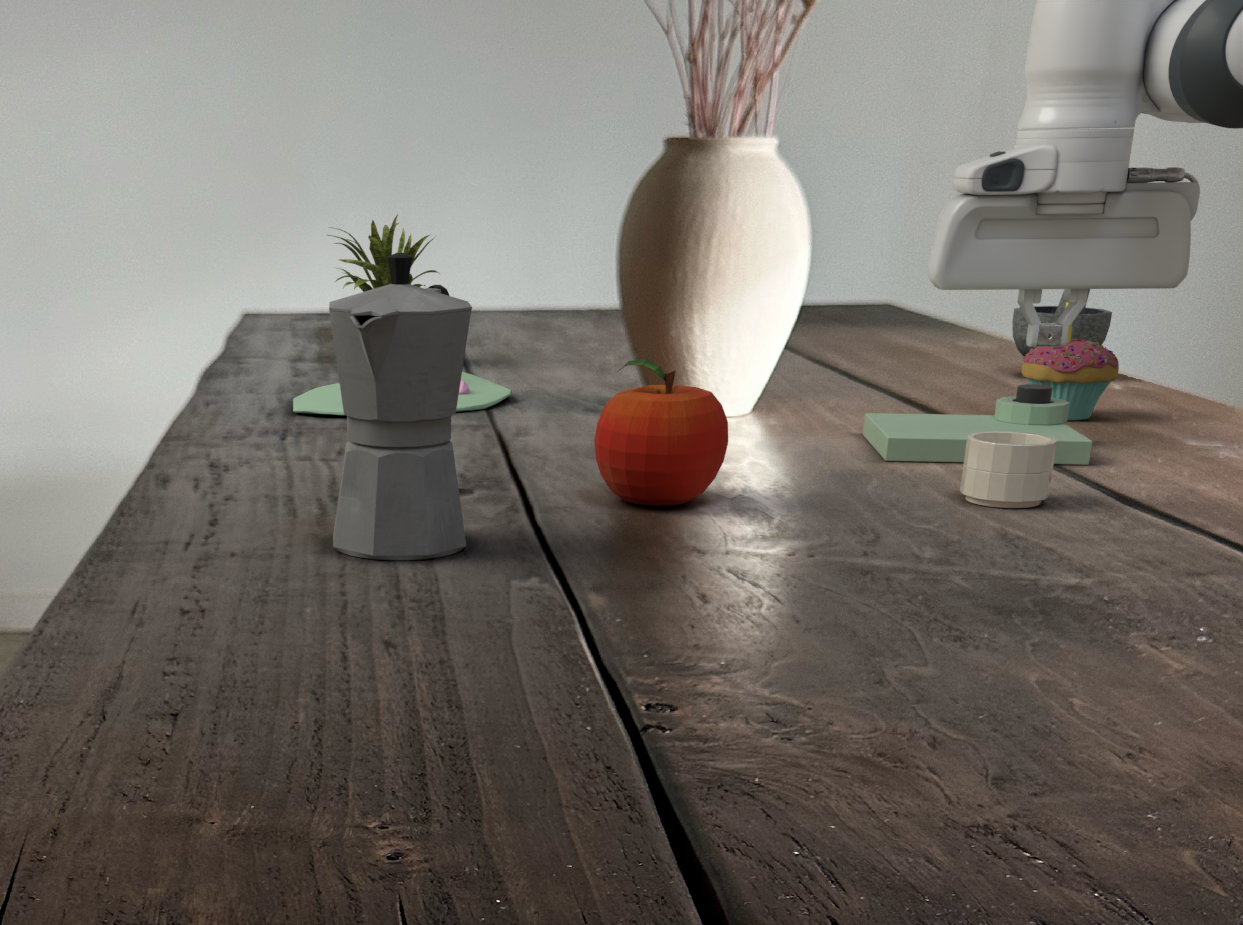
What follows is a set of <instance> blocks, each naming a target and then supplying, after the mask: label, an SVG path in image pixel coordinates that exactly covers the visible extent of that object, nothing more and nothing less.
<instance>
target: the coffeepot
mask: <svg viewBox="0 0 1243 925" xmlns="http://www.w3.org/2000/svg"><path fill="white" fill-rule="evenodd" d="M412 258H413V257H412V256H410V255H407V254H405V253H403V252H402V253H397V252H395V253H392V255H390V256H387V259H388V265H389V271H390V277H391V283H392V284H389V285H386V286H382V287H379V288H375V289H372V290H369V291H365V292H363V291H362V292H358V293H355V294H352V295H347V296H345V297H342V298H340V299H335V300H332V301H329V304H328V310H329V311H328V312H329V318H330V325H331V332H332V340H333V347H334V355H335V361H336V368H337V376H338V381H339V382H338V383H340V390H341V397H342V404H343V411H344V415H343V416H346V439H347V441H346V442H345V449H344V456H343V461H342V462H343V463H342V471H341V478H340V485H339V492H338V499H337V505H336V513H335V519H334V525H333V526H334V528H333V534H332V547H333V548H334V549H335V550H336V551H337V552H339V553H341V554H345V555H348V556H352V557H355V558H360V559H361V558H362V559H367V560H368V559H369V560H379V561H380V560H381V561H419V560H429V559H436V558H442V557H446V556H450V555H453V554H456V553H459V552H461V551H462V550H463V549H464V548H466V547H467V540H466V534H465V526H464V525H465V524H464V519H463V512H462V511H463V510H462V504H461V496H460V490H459V481H458V475H457V467H456V460H455V453H454V452H455V451H454V446H453V442H452V441H451V439H452V416H454V415H456V413H457V412H456V408H457V402H458V395H459V388H460V382H461V375H462V372H463V369H464V368H463V367H464V362H465V355H466V348H467V342H468V336H469V330H470V329H469V328H470V323H471V322H470V321H471V315H472V310H473V306H472V304H470V302H469V301H467V300H465V299H461V298H458V297H455V296H452V295H450V293H449V291H448V288H446V287H445V286H443V285H441V284H432V285H430V286H428V287H426V288H425V287H422V286H421V287H417V286H414V284H412V283H411V284H408V281H409V275H410V274H411V268H412V266H411V264H412Z"/></svg>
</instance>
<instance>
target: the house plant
mask: <svg viewBox="0 0 1243 925" xmlns="http://www.w3.org/2000/svg"><path fill="white" fill-rule="evenodd" d="M398 216H399V214H397V215H396V216H395V217H394V218H393V220H392V223H391V226H390V227H389V225H387V224H385V225H383V228H382V233H381V234H382V236H380V234H379V231H378V228H377V225H376V223H375V220H373V219H371V220H372V221H371V223H370V235H368V237H367V238H368V240H369V248H368V250H369V251H370V254H371V256H372V259H373V261H374V263H372V262H371V261H370V259H369V258H368V256H367V254H366V253H365V252H366V251H364V249H363V247H362V246H361V244H360V243H359V242H358V240H357V239H356V238H355V236H353V235H352V234H351V233H350V232H347V231H346V230H343V229H341V228H337V227H333V229H334V230H338V231H341V232H344V233H345V234H347V235H348V236H350V237H351V238H352V239H347V238H344V237H341V236H336V235H331V234H327V236H328V237H333V238H338V239H341V240H342V241H344V242H345V243H344V242H343V243H342V242H334V245H335V244H336V245H342V246H344V247H345V248H347V249H348V250H349V251H350V252H351V253H352V254H353V255H354V257H355V258H356V259H351V258H350V259H349V258H348V259H347V258H346V259H343V258H341V259H339V261H340V262H343V263H346V264H352V265H355V266H358V267H360V268H362V270H363V271H364V273H365V275H366V277H367V278H368V279H366V278H365V279H364V278H361V277H360V276H358V275H354V274H351V273H350V272H349V271H347V270H346V269H343V268H340V267H337V269H338V270H341V271H343V273H344V274H346V275H342V276H340V277H337V279H336V280H335V281H334V283H335V282H338V281H339V280H342V279H344V278H350V279H351V280H352V281H347V282H345V284H344V285H343V287H342V289H345V287H347V286H350V285H353V284H354V287H353V291H355V290H356V288H359V289H360V290H361V291H362V292H365V291H369V290H372V289H375V288H379V287H382V286H386V285H389V284H392V283H391V277H390V271H389V265H388V259H387V256H390V255H392V254H393V243H394V237H395V236H394V234H395V231H396V230H395V229H396V227H397V226H398V225H399V224H400V222H397V219H398ZM327 228H328V229H332V227H330V226H329V227H328V226H327ZM430 236H431V234H428V235H425V236H423V237H421V238H420V239H419V240H418V241H417V242H415V243H414V244H413V245H412V233H409V236H408V239H407V242H406V231H405V228H404V227H402V230H401V234H400V237H399V242H398V247H397V251H396V253H405V254H407V255H410V256H412V257H413V258H412V264H411V267H413V264H414V263H415V262H416V260H417V259H418V258H419V257H420V255H421V254H422V253H423V252H424V250H425V249H426V247H427V246H428V245H429V244H430V243H431V242H433V240H434V239H435V238H436V236H434V237H433V238H432V239H430V240H429V241H428V242H426V244H425V245H424V246H423V248H422V249H421V250H420V251H419V249H420V248H421V246H422V244H423V243H424V241H425V240H426V239H427V238H428V237H430ZM352 242H353V243H352ZM354 243H355V244H356V245H355V244H354ZM418 251H419V252H418ZM332 268H334V269H335V267H332ZM369 271H370V272H371V274H372V276H373V277H374V279H373V278H372V276H371V274H370V272H369ZM428 273H439V275H441V276H442V274H441V273H440V272H439V271H437V270H436V269H435V270H434V269H430V270H426V271H424V272H422V273H420V274H418V275H416V276H415V277H414V276H413V274H412V273H410V275H409V281H408V284H411V285H412V283H413V281H414V280H416V279H418V278H419V277H421V276H422V275H425V274H428ZM367 282H370V284H371V285H370V284H368V283H367ZM413 285H414V286H417V287H421V288H422V286H423V287H424V289H425V288H427V287H426V284H421V283H414V284H413Z"/></svg>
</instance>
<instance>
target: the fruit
mask: <svg viewBox="0 0 1243 925" xmlns="http://www.w3.org/2000/svg"><path fill="white" fill-rule="evenodd" d="M627 366H643V367H646V368H648V369H650V370H652V371H653V372H654V373H656V375H657V376H659V378H660V379H662V380H663V381H664V384H648V385H644V386H639V387H634V388H630V389H626V390H622V391H620V392H618V393H616V394H614V395H613V396H612V397H611V398H610V400H608V401H607V402H606V403H605V405H604V406H603V409H602V411H601V413H600V415H599V418H598V420H597V422H596V426H595V427H596V428H595V432H594V433H595V434H594V438H593V439H594V440H593V442H594V457H595V461H596V464H597V467H598V468H597V469H598V471H599V474H600V476H601V478H602V479H603V481H604V482H605V484H606V485H607V487H608V489H609V490H610V491H611V493H613V494H614V495H616V496H617V497H619V498H620V499H622V500H623V501H624V502H627V503H630V504H635V505H641V506H653V507H654V506H655V507H656V506H657V507H658V506H659V507H663V506H678V505H683V504H686V503H688V502H690V501H691V500H694V499H695V498H697V497H698V496H701V495H702V494H704V493H705V491H706V490H707V489H708V487H709V486H710V485H711V484H713V482H714V481H715V479H716V478H717V475H718V474H719V472H720V469H721V468H722V465H723V464H724V461H725V458H726V453H727V449H728V446H729V422H728V418H727V415H726V413H725V410H724V407H723V404H722V403H721V401H720V400H718V398H717V397H716V395H715V394H714V393H713V392H712V391H709V390H706V389H704V388H701V387H698V386H691V385H675V384H674V381H675V377H676V372H677V370H676V369H675V370H672V371H669V372H665V373H664V371H663V368H662V367H661V365H659V364H657V363H655V362H654V361H652V360H650V359H649V358H641V359H633V360H628V361H627V362H626V363H625V364H624V365H623V366H622V367H621V368H619V369H618V370H616V372H617V373H618V372H619V371H621V370H622V369H624V368H625V367H627Z"/></svg>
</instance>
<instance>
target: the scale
mask: <svg viewBox="0 0 1243 925" xmlns="http://www.w3.org/2000/svg"><path fill="white" fill-rule="evenodd" d="M1015 401H1016V395H1012V396H1002V397H1000V398H997V399H996V401H995V410H994V414H949V413H948V414H947V413H888V412H887V413H885V412H884V413H883V412H882V413H881V412H879V413H878V412H865V413H864V417H863V418H864V419H863V428H862V435H863V437H864V438H865V439H866V440H867V441H868V443H869V444H870V445H871V446H872V447H873V448H874V449H875V451H876V452H877V453H878V454H879V455H880V456H881V457H882V458H883V460H884V461H885V462H912V463H913V462H914V463H915V462H916V463H918V462H919V463H920V462H921V463H963V464H964V457H965V450H966V443H967V436H969V435H970V434H973V433H978V432H991V431H1007V432H1023V433H1033V434H1040V435H1045V436H1049V437H1052V438H1054V439H1056V440H1057V445H1056V452H1055V458H1054V464H1053V465H1073V466H1074V465H1075V466H1078V465H1079V466H1088V465H1090V461H1091V454H1092V448H1093V440H1091V439H1090V438H1088V437H1087V436H1085V435H1083V434H1082V433H1080V432H1079V431H1077V430H1075V429H1074V428H1072V427H1071V426H1069V425H1068V424H1066V423H1067V421H1068V420H1067V417H1068V410H1069V404H1070V403H1069V402H1067V401H1065V400H1061V399H1056V398H1051V401H1050V403H1049V404H1030V403H1020V402H1015Z"/></svg>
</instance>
